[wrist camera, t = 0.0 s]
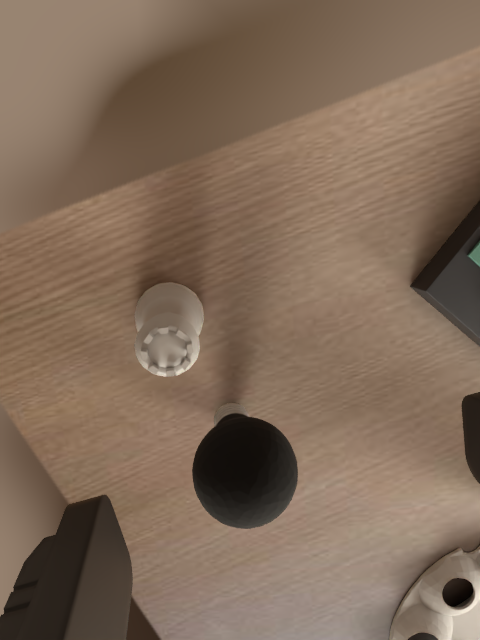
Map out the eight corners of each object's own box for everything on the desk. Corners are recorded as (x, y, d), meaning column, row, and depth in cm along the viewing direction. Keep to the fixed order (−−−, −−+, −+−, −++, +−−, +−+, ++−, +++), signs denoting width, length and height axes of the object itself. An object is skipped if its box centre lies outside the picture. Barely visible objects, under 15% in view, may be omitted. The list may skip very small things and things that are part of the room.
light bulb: (253, 362, 30) (290, 433, 20) (280, 430, 31) (325, 526, 22) (176, 394, 29) (175, 481, 20) (207, 461, 31) (220, 572, 21)
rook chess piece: (217, 316, 28) (231, 354, 21) (167, 359, 29) (164, 412, 21) (172, 266, 27) (170, 287, 20) (121, 311, 27) (99, 349, 20)
